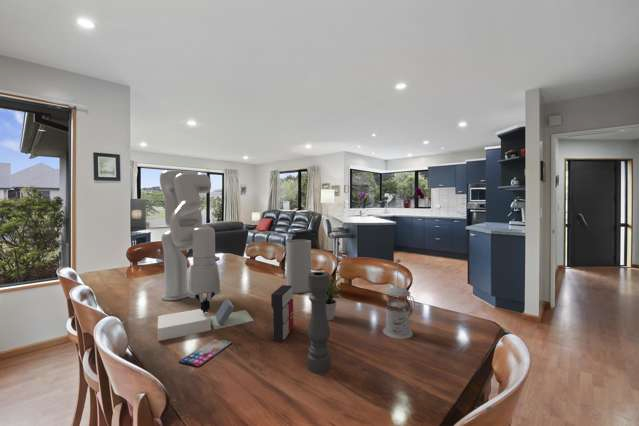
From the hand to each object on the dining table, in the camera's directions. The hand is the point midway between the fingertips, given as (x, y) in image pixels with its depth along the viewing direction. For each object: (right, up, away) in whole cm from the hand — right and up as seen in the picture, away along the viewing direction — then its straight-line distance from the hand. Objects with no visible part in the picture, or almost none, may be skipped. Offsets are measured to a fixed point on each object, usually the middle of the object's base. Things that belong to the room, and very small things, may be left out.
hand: (205, 311), depth 103 cm
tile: (+5, 0, +2) cm, 6 cm away
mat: (+8, -5, +5) cm, 10 cm away
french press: (+69, -5, -7) cm, 69 cm away
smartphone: (+8, -6, -19) cm, 22 cm away
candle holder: (+41, -6, -27) cm, 50 cm away
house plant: (+46, -5, +6) cm, 47 cm away
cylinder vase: (+31, -4, +41) cm, 52 cm away
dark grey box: (+29, -5, -8) cm, 31 cm away
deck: (-6, -5, -3) cm, 8 cm away
